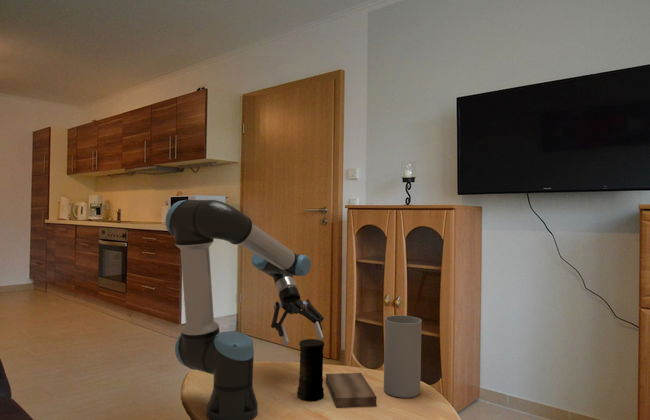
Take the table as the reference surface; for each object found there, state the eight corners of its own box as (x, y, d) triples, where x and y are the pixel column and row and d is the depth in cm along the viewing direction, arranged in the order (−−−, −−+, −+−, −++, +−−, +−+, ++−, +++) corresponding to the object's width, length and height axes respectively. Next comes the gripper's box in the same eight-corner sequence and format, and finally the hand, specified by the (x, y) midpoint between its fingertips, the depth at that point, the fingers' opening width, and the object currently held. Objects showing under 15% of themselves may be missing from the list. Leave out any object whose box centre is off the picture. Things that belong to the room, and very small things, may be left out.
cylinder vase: (387, 382, 166) (388, 314, 166) (421, 387, 162) (423, 317, 162) (380, 395, 154) (382, 321, 154) (418, 401, 150) (419, 325, 150)
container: (298, 390, 157) (299, 338, 157) (324, 391, 157) (325, 338, 157) (295, 401, 148) (296, 345, 148) (323, 402, 148) (324, 346, 148)
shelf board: (336, 407, 143) (336, 398, 143) (325, 382, 165) (326, 373, 165) (376, 406, 145) (376, 396, 145) (360, 381, 167) (361, 372, 167)
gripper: (313, 295, 181) (331, 342, 168) (254, 299, 169) (268, 351, 156) (320, 283, 177) (339, 332, 163) (259, 287, 164) (274, 340, 151)
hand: (304, 341), depth 160 cm, fingers open, 13 cm apart
